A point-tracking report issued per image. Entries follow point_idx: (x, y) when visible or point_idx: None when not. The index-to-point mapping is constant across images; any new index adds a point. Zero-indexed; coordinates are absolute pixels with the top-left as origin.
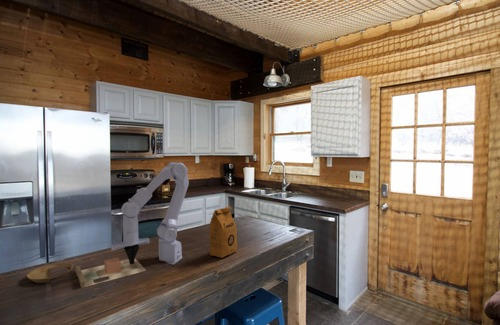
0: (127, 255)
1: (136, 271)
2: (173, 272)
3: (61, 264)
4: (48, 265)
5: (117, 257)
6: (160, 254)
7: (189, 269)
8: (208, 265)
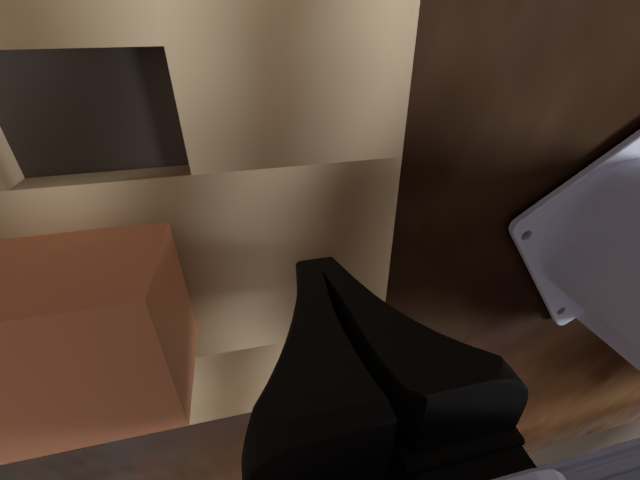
0: (294, 325)
1: None
2: None
3: None
4: None
5: (137, 306)
6: (595, 296)
7: (552, 394)
8: (630, 386)
